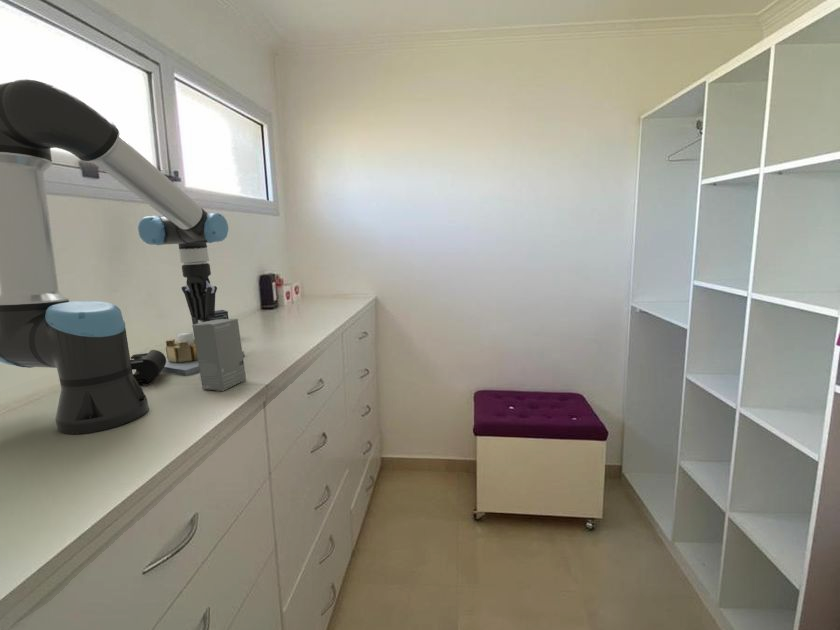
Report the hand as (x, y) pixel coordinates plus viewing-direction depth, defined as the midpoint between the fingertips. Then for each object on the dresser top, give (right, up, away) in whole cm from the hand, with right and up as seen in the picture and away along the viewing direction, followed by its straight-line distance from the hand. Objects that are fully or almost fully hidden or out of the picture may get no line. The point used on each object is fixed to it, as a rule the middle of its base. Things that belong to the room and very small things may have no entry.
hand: (206, 340), depth 135 cm
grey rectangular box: (+19, -9, -29) cm, 36 cm away
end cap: (-4, -9, -22) cm, 24 cm away
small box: (-5, -2, +16) cm, 17 cm away
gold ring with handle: (+1, -4, -6) cm, 7 cm away
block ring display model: (+1, -6, -8) cm, 10 cm away
